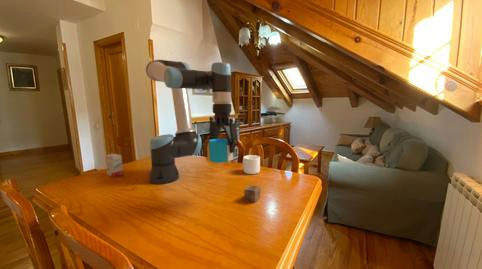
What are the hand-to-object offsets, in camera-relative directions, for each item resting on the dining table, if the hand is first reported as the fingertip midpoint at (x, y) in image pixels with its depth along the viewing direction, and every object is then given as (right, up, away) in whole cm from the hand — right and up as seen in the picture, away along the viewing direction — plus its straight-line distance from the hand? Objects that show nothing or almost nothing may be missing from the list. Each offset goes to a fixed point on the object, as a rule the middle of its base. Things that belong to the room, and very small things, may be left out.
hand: (223, 158), depth 87 cm
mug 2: (+14, -12, +36) cm, 40 cm away
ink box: (-64, -13, +32) cm, 73 cm away
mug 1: (0, -1, 0) cm, 1 cm away
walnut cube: (+12, -17, +1) cm, 21 cm away
